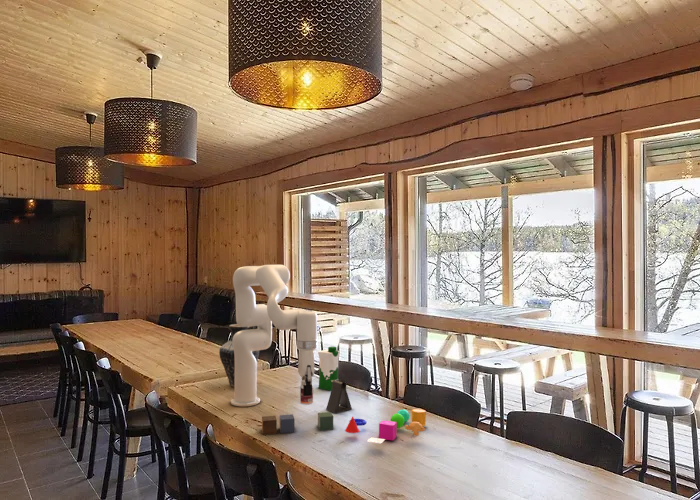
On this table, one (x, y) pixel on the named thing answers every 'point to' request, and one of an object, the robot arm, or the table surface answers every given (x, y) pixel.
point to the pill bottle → (305, 399)
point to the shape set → (392, 425)
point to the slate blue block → (287, 423)
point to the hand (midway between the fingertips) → (306, 392)
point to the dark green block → (325, 421)
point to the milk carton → (328, 367)
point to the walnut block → (269, 425)
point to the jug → (232, 354)
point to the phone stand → (338, 398)
